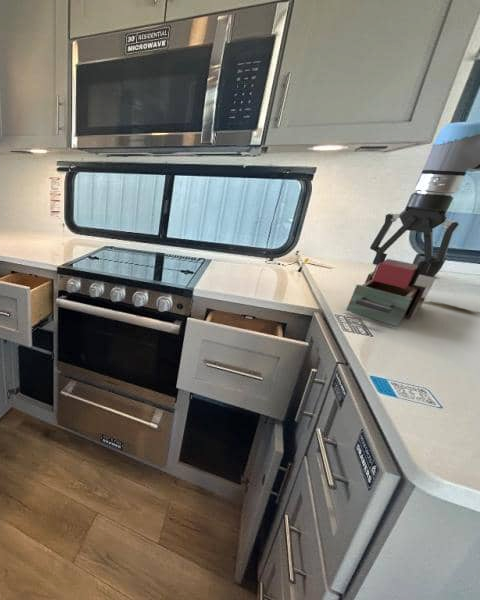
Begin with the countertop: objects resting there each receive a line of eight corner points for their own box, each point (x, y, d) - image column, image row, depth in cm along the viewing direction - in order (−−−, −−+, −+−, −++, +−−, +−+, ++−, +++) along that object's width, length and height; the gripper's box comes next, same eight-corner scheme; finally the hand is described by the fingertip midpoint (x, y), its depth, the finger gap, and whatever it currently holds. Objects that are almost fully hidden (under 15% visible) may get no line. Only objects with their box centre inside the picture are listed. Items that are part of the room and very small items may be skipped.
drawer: (392, 332, 82) (406, 303, 79) (339, 314, 90) (350, 288, 87) (410, 313, 94) (422, 288, 91) (361, 299, 103) (372, 276, 99)
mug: (435, 278, 133) (447, 256, 130) (433, 284, 126) (445, 260, 122) (408, 273, 139) (419, 251, 135) (404, 278, 131) (415, 255, 128)
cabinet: (409, 319, 93) (425, 287, 89) (356, 303, 102) (368, 274, 98) (420, 306, 103) (435, 277, 99) (370, 293, 112) (382, 266, 108)
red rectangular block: (412, 282, 90) (421, 265, 88) (405, 288, 85) (414, 270, 83) (379, 275, 95) (387, 258, 93) (371, 280, 90) (379, 262, 88)
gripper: (378, 189, 86) (344, 272, 95) (493, 199, 72) (441, 295, 81) (385, 189, 90) (352, 268, 99) (495, 198, 76) (445, 290, 85)
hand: (392, 280), depth 90 cm, fingers closed on red rectangular block, 7 cm apart
